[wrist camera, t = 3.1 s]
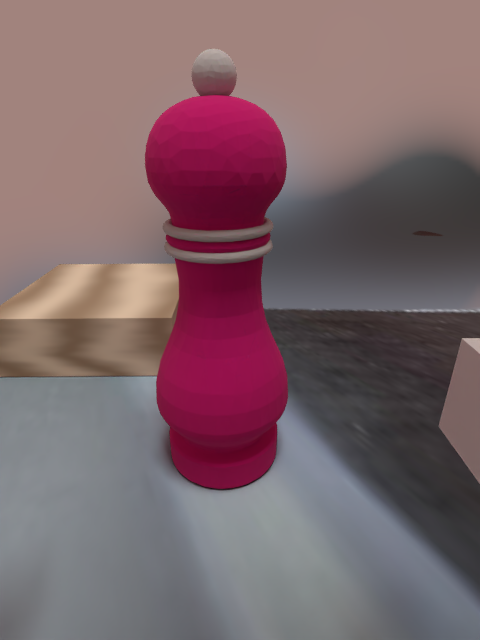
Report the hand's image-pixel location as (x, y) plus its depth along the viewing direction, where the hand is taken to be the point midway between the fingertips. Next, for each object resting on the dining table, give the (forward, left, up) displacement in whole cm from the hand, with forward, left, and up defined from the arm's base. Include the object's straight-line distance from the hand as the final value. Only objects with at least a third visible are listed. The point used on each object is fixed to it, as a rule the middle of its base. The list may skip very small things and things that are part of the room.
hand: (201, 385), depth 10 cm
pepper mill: (0, -10, -11) cm, 15 cm away
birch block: (+11, -24, -11) cm, 29 cm away
